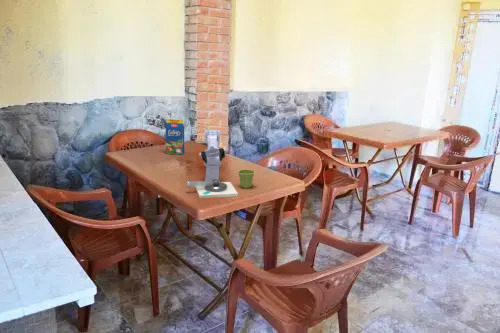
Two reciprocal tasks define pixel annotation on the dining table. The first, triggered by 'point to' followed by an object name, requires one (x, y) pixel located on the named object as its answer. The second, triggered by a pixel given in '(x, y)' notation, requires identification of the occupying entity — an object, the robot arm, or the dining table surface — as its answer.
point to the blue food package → (174, 137)
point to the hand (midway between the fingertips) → (213, 161)
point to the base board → (209, 194)
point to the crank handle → (209, 185)
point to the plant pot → (246, 178)
